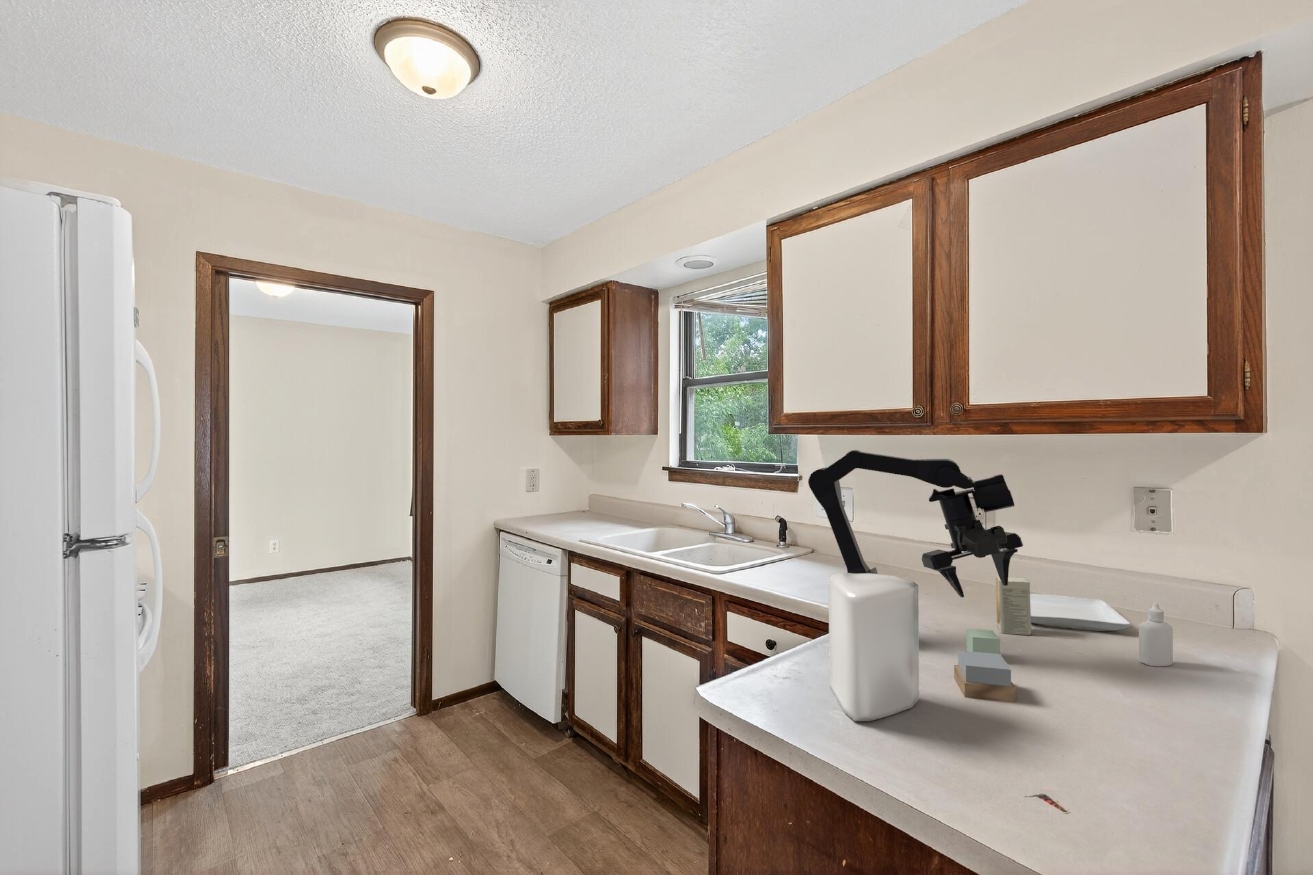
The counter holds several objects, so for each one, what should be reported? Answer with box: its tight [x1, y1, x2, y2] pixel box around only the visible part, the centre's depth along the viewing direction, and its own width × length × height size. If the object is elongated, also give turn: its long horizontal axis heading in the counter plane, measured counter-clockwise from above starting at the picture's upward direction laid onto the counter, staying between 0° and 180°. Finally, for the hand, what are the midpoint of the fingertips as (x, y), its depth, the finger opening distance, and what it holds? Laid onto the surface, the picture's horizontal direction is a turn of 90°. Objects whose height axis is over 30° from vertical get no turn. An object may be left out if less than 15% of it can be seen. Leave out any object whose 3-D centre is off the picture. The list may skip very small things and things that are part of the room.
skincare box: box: [995, 576, 1032, 636], centre depth 135 cm, size 6×4×12 cm
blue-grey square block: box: [957, 650, 1012, 687], centre depth 105 cm, size 7×7×3 cm
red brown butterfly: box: [1019, 792, 1070, 814], centre depth 74 cm, size 5×5×1 cm
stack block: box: [965, 628, 1001, 654], centre depth 120 cm, size 5×5×5 cm
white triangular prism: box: [828, 572, 920, 722], centre depth 102 cm, size 15×14×22 cm
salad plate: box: [1030, 593, 1131, 632], centre depth 144 cm, size 21×21×3 cm
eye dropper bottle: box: [1138, 602, 1174, 667], centre depth 116 cm, size 4×6×12 cm
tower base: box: [953, 664, 1017, 703], centre depth 106 cm, size 8×8×3 cm
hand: (983, 591), depth 121 cm, fingers open, 9 cm apart
